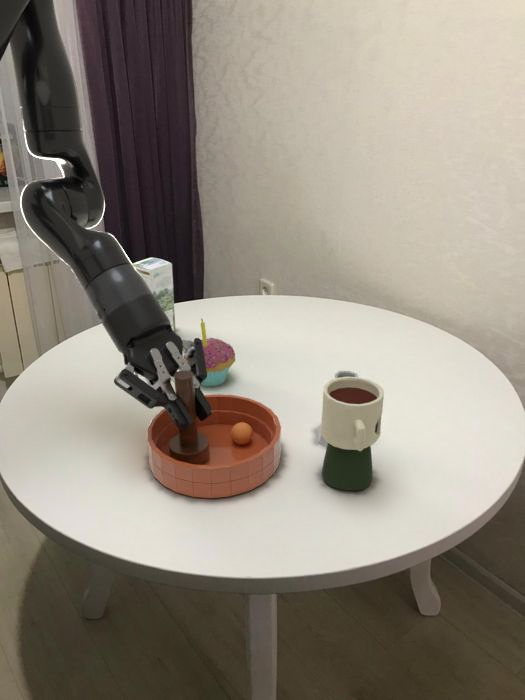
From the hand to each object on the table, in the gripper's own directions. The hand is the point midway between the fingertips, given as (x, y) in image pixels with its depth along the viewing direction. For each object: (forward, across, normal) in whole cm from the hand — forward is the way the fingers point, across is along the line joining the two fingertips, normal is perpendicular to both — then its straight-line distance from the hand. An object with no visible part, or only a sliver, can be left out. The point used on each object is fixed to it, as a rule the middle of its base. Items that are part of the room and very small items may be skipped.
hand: (197, 422), depth 74 cm
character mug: (+16, +10, -6) cm, 20 cm away
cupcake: (-6, +17, +16) cm, 25 cm away
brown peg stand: (+3, 0, +6) cm, 6 cm away
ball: (+4, +7, +3) cm, 9 cm away
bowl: (+5, +2, +5) cm, 7 cm away
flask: (+12, +18, -2) cm, 22 cm away
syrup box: (-22, +24, +32) cm, 45 cm away
